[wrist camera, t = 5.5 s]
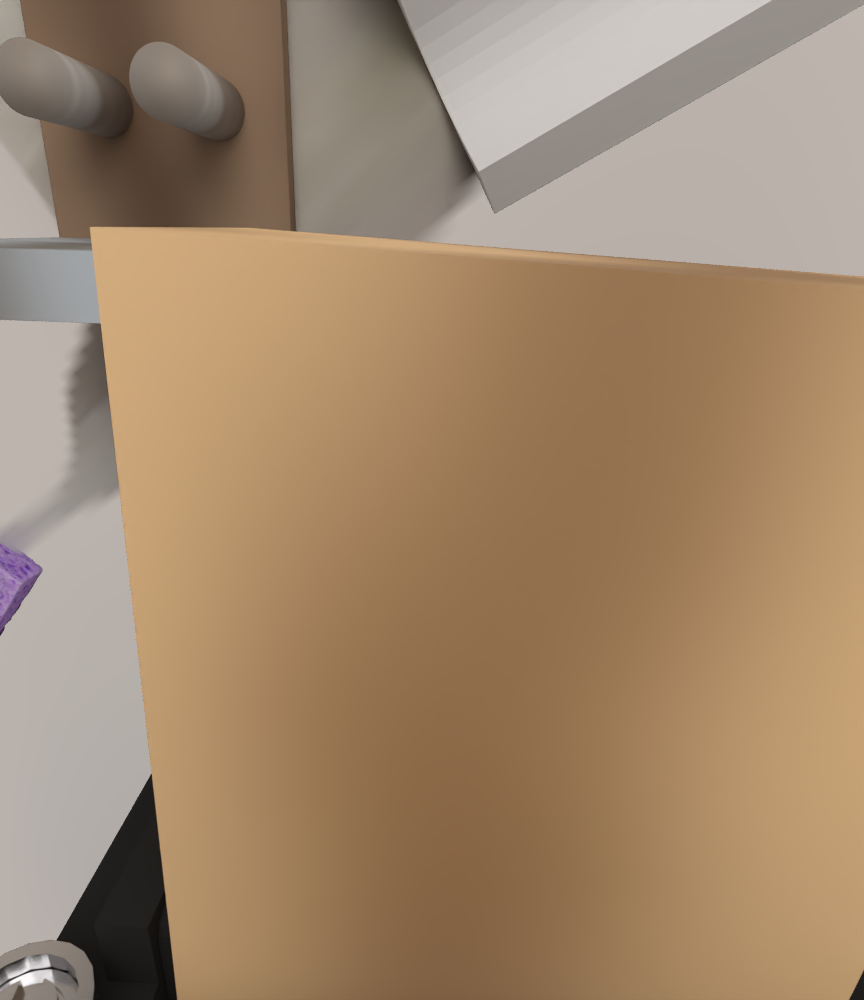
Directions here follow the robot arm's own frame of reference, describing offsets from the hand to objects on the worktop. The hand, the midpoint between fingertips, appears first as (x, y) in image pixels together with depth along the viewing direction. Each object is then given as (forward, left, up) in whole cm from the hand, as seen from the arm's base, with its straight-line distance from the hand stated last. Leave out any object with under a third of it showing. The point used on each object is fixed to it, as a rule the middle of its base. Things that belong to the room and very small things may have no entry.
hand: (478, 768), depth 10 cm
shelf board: (0, +1, +1) cm, 1 cm away
